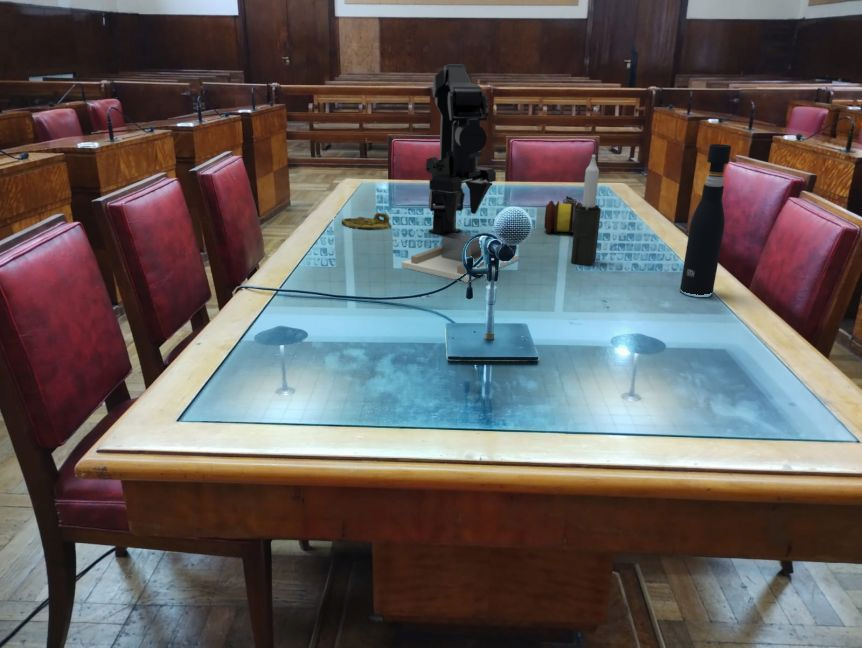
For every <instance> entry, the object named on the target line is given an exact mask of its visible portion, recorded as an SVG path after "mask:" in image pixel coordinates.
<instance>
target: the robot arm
mask: <svg viewBox="0 0 862 648" xmlns="http://www.w3.org/2000/svg"><path fill="white" fill-rule="evenodd" d="M432 97H433V98H434V103H435V106H436V107H437V109H438V111H439V112H440V127H439V129H440V133H439V158H438V157H437V156H433V157H429V158H427V159H426V163H425V172H427V173H428V174H430V175H431V178H430V179H429V180H428V181H429V182H428V183H429V184H428V187H429V190H430V191H429V196H428V209H429V210H430V212H433V216H432V228H431V229H428V232H429V233H433V234H439V235H443V236H445V235H448V234H451V233H459V232H461V229H460V228H456V227H457V212H458V211H459V212H462V210H464V201H465V195H466V193H465V192H464V189H463V187H462V186H463V185H462V184H465V185H466V186H467V188H468V190H469V207H470V213H471V214H473V215H475V214H477V212H478V209H479V208H480V206H481V204H482V201H484V198H485V197H486V194H487V193H488V191H489V189H490V188H491V186H493V182H496V179H497V177H496V176H497V172H496V171H495V169H494V168H493V167H492V168H491V167H484V166H478V158H479V157H482V150H483V149H484V148H485V146H486V144H487V141H488V140H487V139H488V138H487V137H488V136H487V133H486V131H485V129H484V128H483V127H482V126H480V125H481V123H480V122H487V121H488V117H489V114H490V113H489V112H490V110H489V103H488V98H487V97H486V93H485V92H484V91H483V89H482V87H481V86H480V85H479V84H476V83H472V82H471V80H470V77H469V75H468V73H467V66H466V65H464V64H462V63H461V64H459V63H458V64H456V63H453V64H452V63H451V64H450V63H448V64H447V65H446V64H445V65H444V66H443V69H442V70H441V71H440V72H439V73H437V74H436V75H435V76H434V79H433V84H432Z"/></svg>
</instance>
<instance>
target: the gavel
mask: <svg viewBox="0 0 862 648" xmlns="http://www.w3.org/2000/svg"><path fill="white" fill-rule="evenodd" d="M580 204H582V203H581V202H580V201H577V198H572V197H571V196H568V195H567V196H566V198H564V199H562V202H561V203H560V201H557V203H556V204H555V203H554V201H553V200H550V201H549V202H548V203H547V204H546V206H545V211H544V212H545V215H544V226H543V227H544V229H545V230H546V232H547V233H548V234H551V233H552V231H553V230H554V233H555V234H557V233H558V232H564V233H568V234H569V235H571V234H573V235H574V224H575V214H576V209H577V208H578V206H579V205H580Z"/></svg>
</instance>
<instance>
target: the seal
mask: <svg viewBox="0 0 862 648" xmlns="http://www.w3.org/2000/svg"><path fill="white" fill-rule="evenodd" d="M380 217H381V218H383V219H381V218H380ZM341 224H342V226H343V227H346V228H347V227H348V229H351V228H352V230H360V231H381V230H389V229H390V230H391V228H392V225H391V223H390V216H389V215H388V213H380V212H376V213H375V214H374V216H373V218H370V217H368V218H367V217H363V216H358V217H356V218H352V217H351V218H350V217H348V218H343V219H342V220H341Z"/></svg>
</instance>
